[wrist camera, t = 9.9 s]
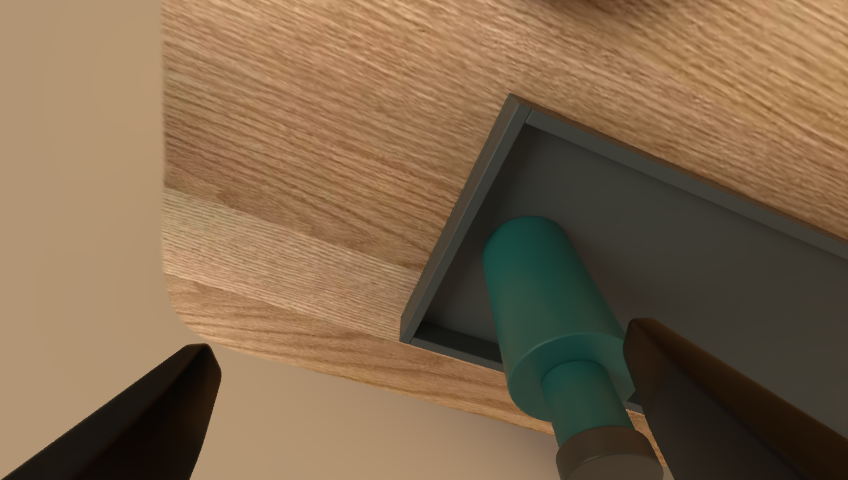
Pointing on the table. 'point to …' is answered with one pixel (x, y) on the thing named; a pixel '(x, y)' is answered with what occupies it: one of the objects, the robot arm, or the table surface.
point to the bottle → (564, 351)
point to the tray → (647, 259)
